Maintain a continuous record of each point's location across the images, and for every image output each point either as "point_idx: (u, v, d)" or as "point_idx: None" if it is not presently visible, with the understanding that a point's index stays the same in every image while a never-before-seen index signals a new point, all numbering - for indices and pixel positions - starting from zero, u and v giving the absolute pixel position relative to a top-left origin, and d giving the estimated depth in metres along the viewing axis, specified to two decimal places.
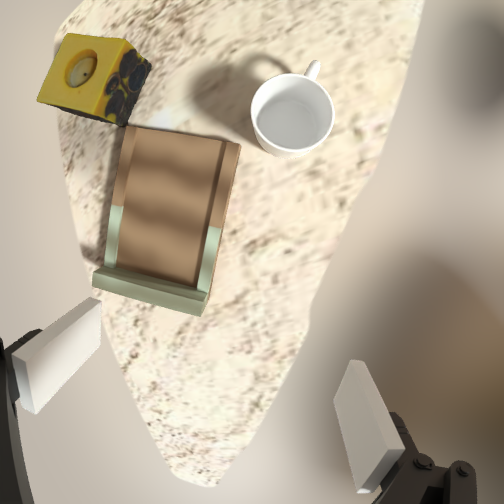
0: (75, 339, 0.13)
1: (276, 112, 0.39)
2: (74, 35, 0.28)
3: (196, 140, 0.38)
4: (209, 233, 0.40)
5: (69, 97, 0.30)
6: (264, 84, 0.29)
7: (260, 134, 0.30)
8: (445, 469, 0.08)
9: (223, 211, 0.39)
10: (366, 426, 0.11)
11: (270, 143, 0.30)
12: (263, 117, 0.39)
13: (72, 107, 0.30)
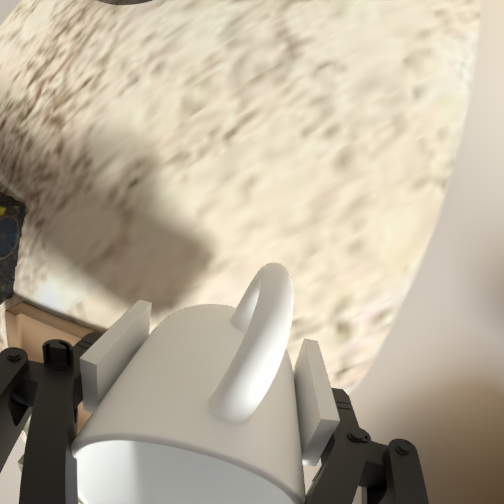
0: (132, 340, 0.14)
1: None
2: None
3: None
4: None
5: None
6: (77, 448, 0.07)
7: None
8: (383, 448, 0.10)
9: None
10: (308, 399, 0.12)
11: None
12: None
13: None
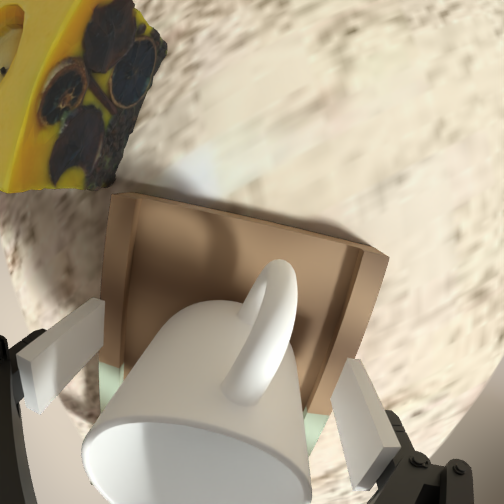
0: (79, 339, 0.13)
1: None
2: None
3: (287, 240, 0.17)
4: (306, 423, 0.18)
5: None
6: (96, 433, 0.08)
7: None
8: (441, 467, 0.08)
9: None
10: (362, 424, 0.11)
11: None
12: None
13: None
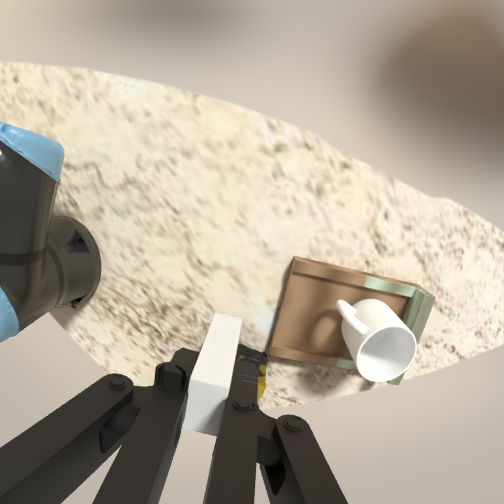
0: None
1: None
2: None
3: (289, 296, 0.46)
4: (369, 286, 0.44)
5: None
6: (359, 369, 0.37)
7: (392, 378, 0.37)
8: (271, 427, 0.10)
9: (353, 274, 0.44)
10: None
11: (401, 373, 0.37)
12: None
13: None
